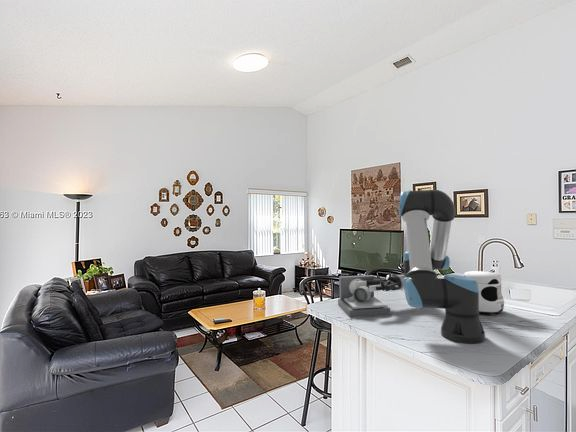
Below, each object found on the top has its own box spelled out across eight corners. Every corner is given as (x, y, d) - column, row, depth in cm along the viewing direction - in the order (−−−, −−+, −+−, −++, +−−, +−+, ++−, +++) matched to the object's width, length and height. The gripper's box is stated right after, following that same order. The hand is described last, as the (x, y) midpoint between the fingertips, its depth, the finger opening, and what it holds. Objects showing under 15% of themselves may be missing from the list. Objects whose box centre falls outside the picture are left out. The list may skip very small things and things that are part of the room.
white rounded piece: (458, 305, 169) (457, 270, 169) (495, 306, 165) (494, 270, 165) (469, 315, 152) (467, 276, 152) (511, 317, 148) (509, 277, 148)
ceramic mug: (372, 300, 166) (371, 284, 166) (368, 304, 159) (367, 288, 159) (351, 298, 171) (351, 283, 171) (347, 302, 164) (346, 286, 164)
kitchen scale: (390, 314, 156) (389, 283, 156) (349, 316, 155) (348, 285, 154) (373, 302, 178) (373, 275, 178) (338, 304, 176) (337, 276, 176)
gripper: (414, 294, 160) (377, 299, 152) (382, 285, 182) (349, 289, 173) (413, 278, 160) (377, 283, 152) (382, 272, 182) (349, 275, 173)
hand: (362, 286), depth 163 cm, fingers open, 11 cm apart
